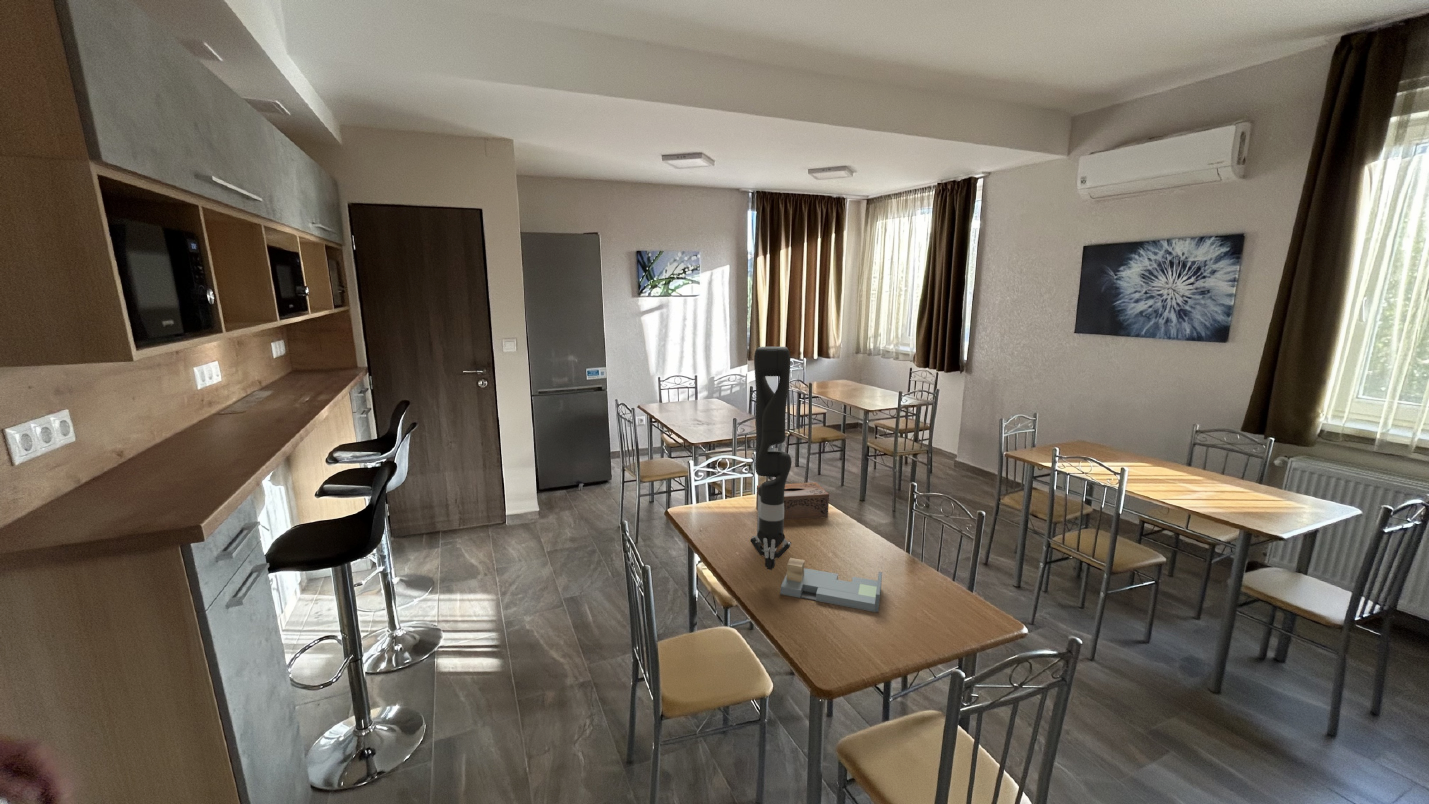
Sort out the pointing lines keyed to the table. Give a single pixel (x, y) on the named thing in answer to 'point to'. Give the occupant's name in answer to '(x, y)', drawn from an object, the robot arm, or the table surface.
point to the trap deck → (835, 590)
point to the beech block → (795, 569)
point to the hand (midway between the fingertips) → (769, 568)
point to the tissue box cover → (804, 501)
